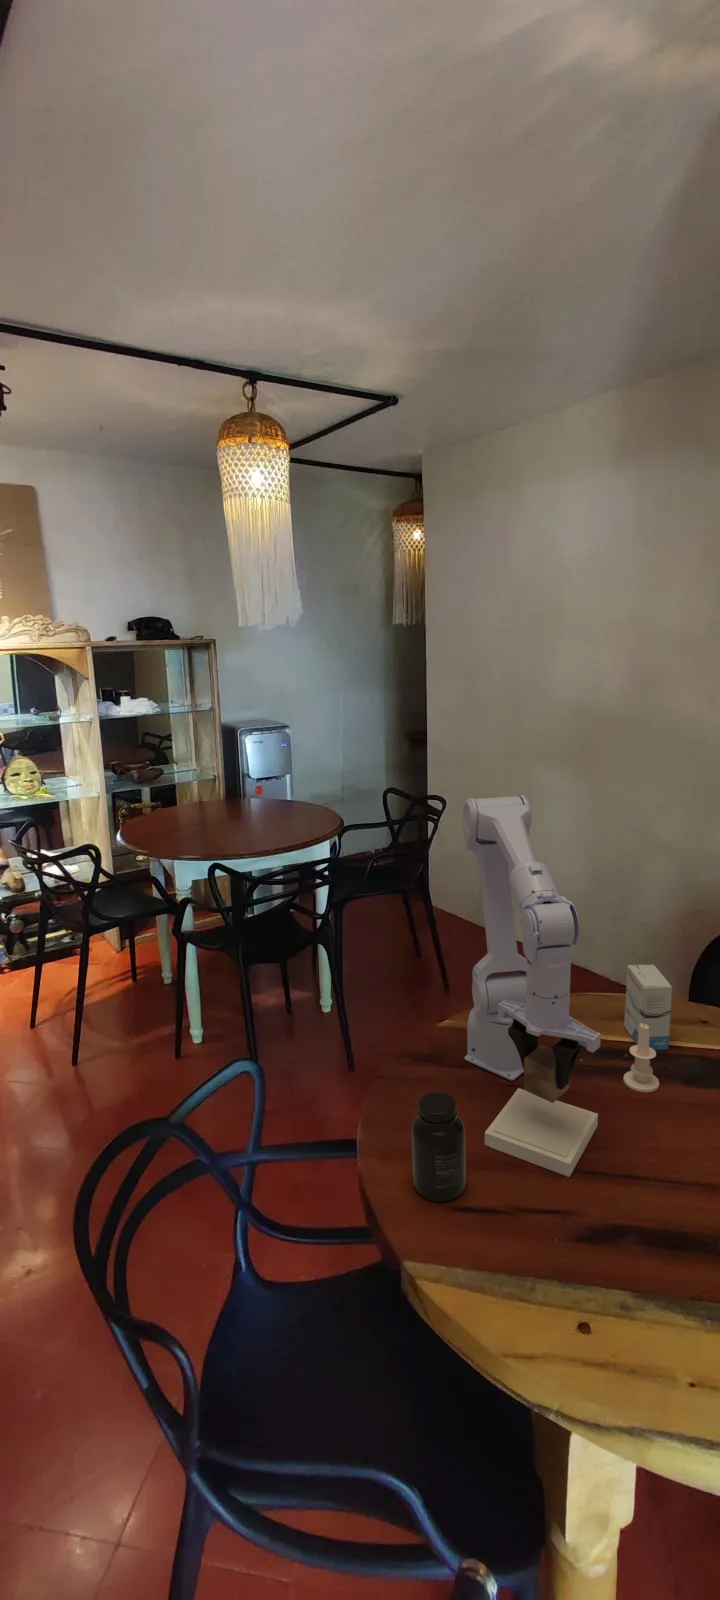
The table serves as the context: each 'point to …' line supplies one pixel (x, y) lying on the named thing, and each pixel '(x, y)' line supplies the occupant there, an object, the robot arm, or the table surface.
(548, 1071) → the block
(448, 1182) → the supplement bottle
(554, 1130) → the plate
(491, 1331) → the table surface
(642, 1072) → the candle
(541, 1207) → the table surface
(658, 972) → the ink box
